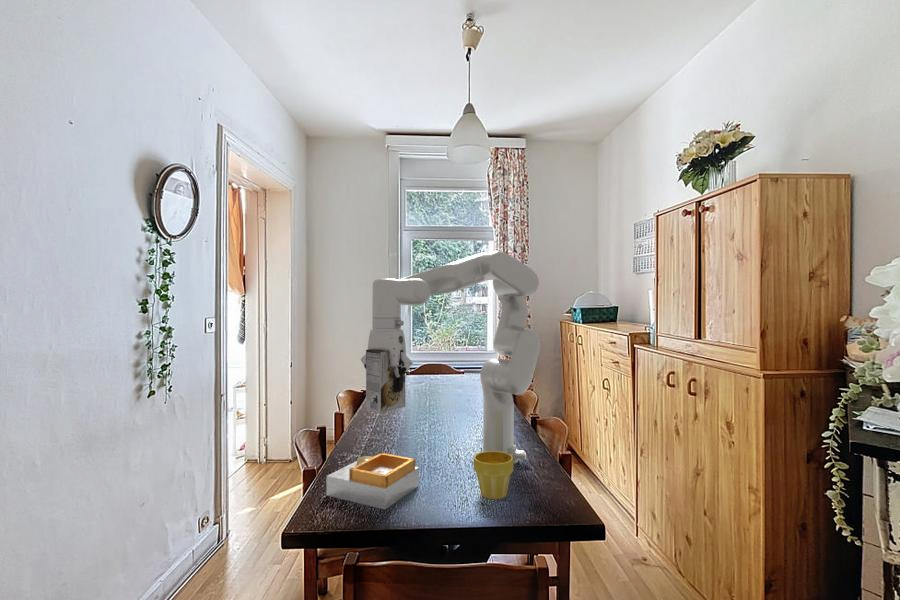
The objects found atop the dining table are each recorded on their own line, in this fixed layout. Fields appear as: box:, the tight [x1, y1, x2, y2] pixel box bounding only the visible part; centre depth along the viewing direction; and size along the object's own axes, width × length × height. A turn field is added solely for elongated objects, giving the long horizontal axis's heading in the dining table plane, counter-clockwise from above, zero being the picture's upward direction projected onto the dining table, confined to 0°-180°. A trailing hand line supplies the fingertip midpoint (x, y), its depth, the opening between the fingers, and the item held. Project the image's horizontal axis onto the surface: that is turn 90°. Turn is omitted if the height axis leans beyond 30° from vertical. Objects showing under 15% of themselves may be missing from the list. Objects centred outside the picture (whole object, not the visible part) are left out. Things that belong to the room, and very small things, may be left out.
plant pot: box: [473, 451, 515, 500], centre depth 123 cm, size 10×10×10 cm
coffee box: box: [365, 348, 406, 414], centre depth 128 cm, size 9×6×16 cm
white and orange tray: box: [326, 452, 420, 510], centre depth 125 cm, size 18×16×8 cm
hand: (385, 389), depth 128 cm, fingers closed on coffee box, 7 cm apart
